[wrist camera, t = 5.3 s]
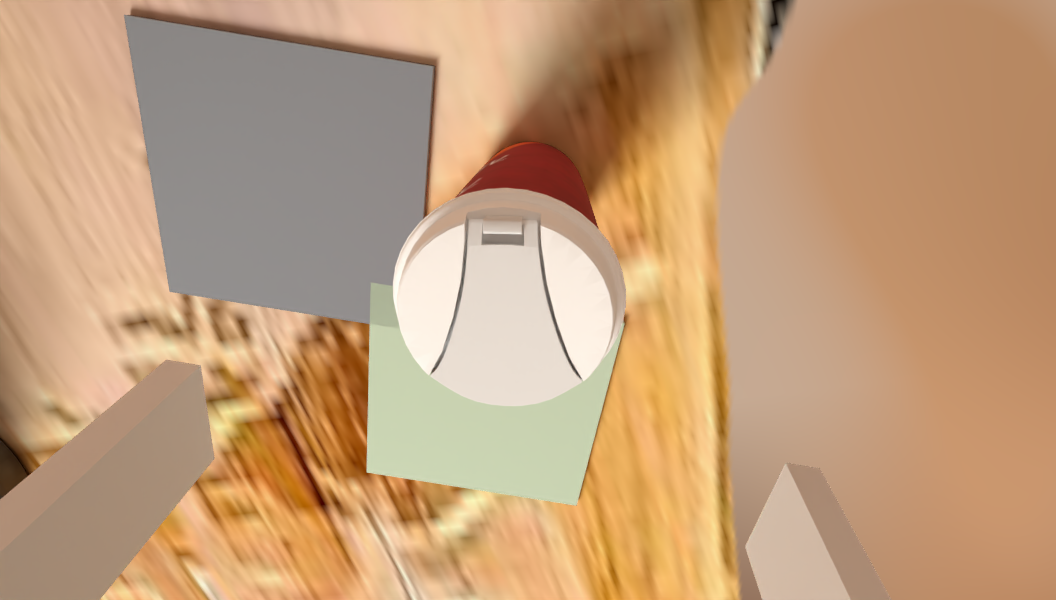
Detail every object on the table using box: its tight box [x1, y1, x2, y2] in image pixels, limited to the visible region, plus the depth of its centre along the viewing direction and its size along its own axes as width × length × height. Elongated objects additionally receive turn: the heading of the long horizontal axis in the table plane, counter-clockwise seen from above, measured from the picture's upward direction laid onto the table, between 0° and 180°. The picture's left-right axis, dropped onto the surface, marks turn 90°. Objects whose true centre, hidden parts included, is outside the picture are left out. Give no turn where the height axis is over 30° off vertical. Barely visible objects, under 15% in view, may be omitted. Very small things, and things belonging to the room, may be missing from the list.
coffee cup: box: [393, 142, 626, 406], centre depth 25 cm, size 8×8×15 cm
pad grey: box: [124, 15, 435, 327], centre depth 32 cm, size 16×16×1 cm
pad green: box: [367, 283, 625, 506], centre depth 38 cm, size 16×16×1 cm
